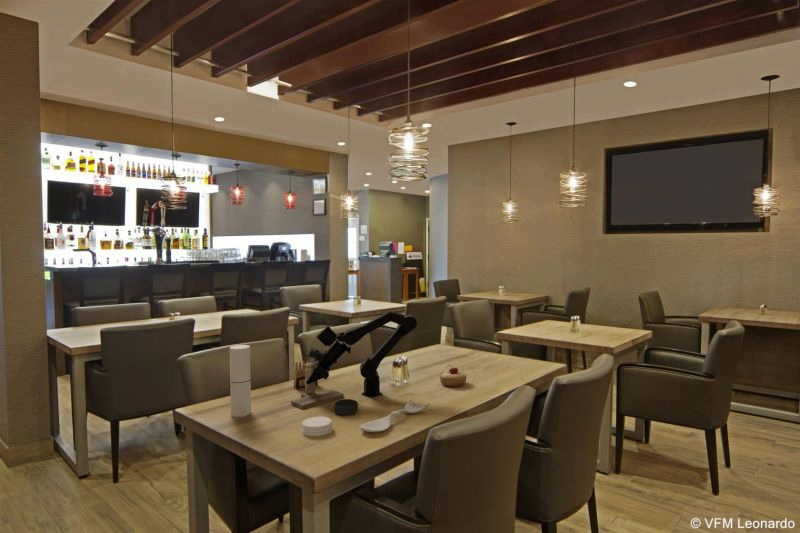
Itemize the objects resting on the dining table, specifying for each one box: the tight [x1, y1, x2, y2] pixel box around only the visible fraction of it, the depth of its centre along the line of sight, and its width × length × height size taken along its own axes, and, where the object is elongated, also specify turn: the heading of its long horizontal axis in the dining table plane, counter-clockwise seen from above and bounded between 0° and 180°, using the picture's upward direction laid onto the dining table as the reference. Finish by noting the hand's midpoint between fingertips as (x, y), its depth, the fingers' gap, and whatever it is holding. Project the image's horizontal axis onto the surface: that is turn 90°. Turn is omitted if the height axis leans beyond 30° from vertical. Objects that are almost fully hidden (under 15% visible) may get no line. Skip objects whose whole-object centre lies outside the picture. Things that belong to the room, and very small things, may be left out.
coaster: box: [301, 416, 333, 437], centre depth 160 cm, size 10×10×4 cm
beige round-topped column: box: [300, 362, 320, 398], centre depth 195 cm, size 5×6×14 cm
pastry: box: [439, 364, 467, 388], centre depth 213 cm, size 12×12×9 cm
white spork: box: [359, 399, 430, 433], centre depth 168 cm, size 9×32×4 cm, turn 143°
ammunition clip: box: [293, 359, 319, 390], centre depth 210 cm, size 11×2×12 cm, turn 129°
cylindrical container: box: [229, 344, 252, 418], centre depth 176 cm, size 7×7×25 cm
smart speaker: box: [333, 398, 359, 417], centre depth 177 cm, size 9×9×4 cm
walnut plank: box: [290, 389, 345, 410], centre depth 190 cm, size 8×20×2 cm, turn 135°
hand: (306, 382), depth 194 cm, fingers closed on beige round-topped column, 4 cm apart
